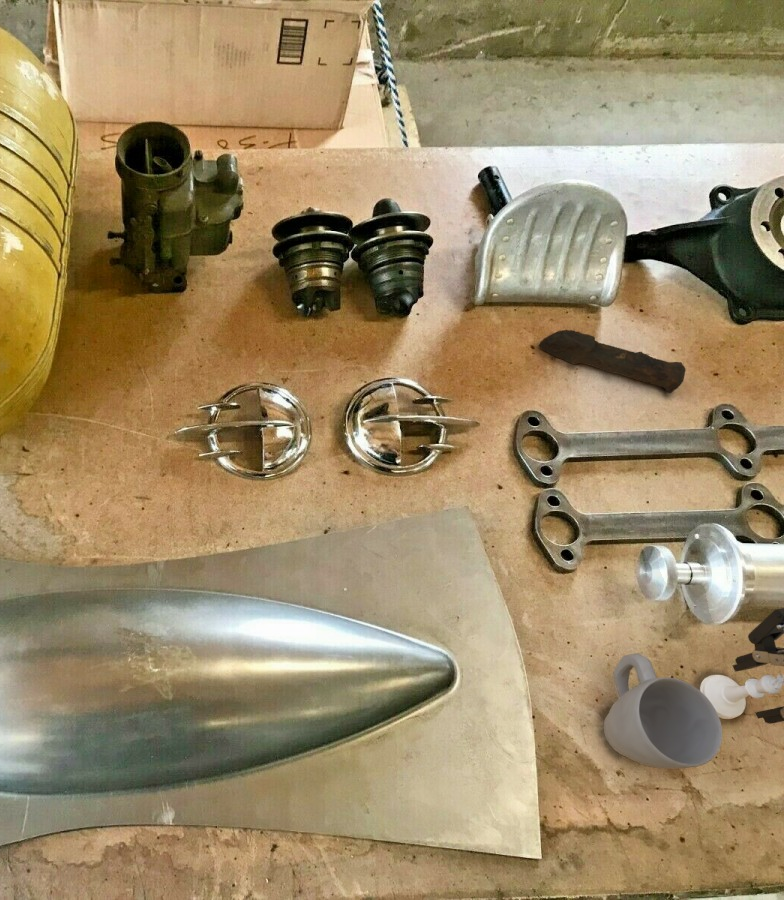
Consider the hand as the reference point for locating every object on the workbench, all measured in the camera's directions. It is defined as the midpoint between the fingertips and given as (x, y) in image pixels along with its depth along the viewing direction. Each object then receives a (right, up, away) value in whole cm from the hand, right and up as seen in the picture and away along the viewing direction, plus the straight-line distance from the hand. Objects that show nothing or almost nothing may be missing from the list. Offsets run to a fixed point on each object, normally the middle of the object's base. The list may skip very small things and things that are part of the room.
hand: (752, 690), depth 87 cm
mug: (-13, -4, +3) cm, 14 cm away
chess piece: (0, -2, +5) cm, 5 cm away
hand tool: (-3, +38, +25) cm, 45 cm away
